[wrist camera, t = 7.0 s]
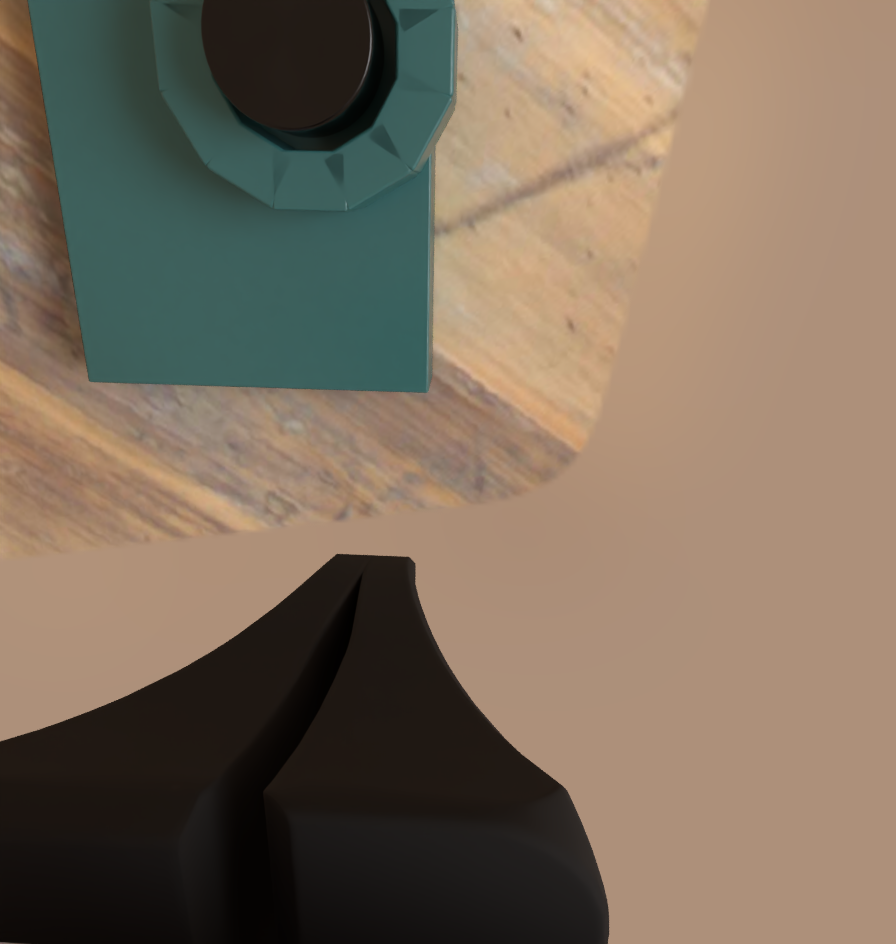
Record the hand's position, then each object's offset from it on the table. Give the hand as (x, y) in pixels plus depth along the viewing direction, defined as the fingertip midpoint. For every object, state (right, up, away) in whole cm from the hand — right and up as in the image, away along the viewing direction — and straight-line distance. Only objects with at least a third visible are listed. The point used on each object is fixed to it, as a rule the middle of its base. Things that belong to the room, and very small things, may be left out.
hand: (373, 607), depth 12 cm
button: (-2, +11, +3) cm, 11 cm away
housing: (-4, +11, +6) cm, 13 cm away
